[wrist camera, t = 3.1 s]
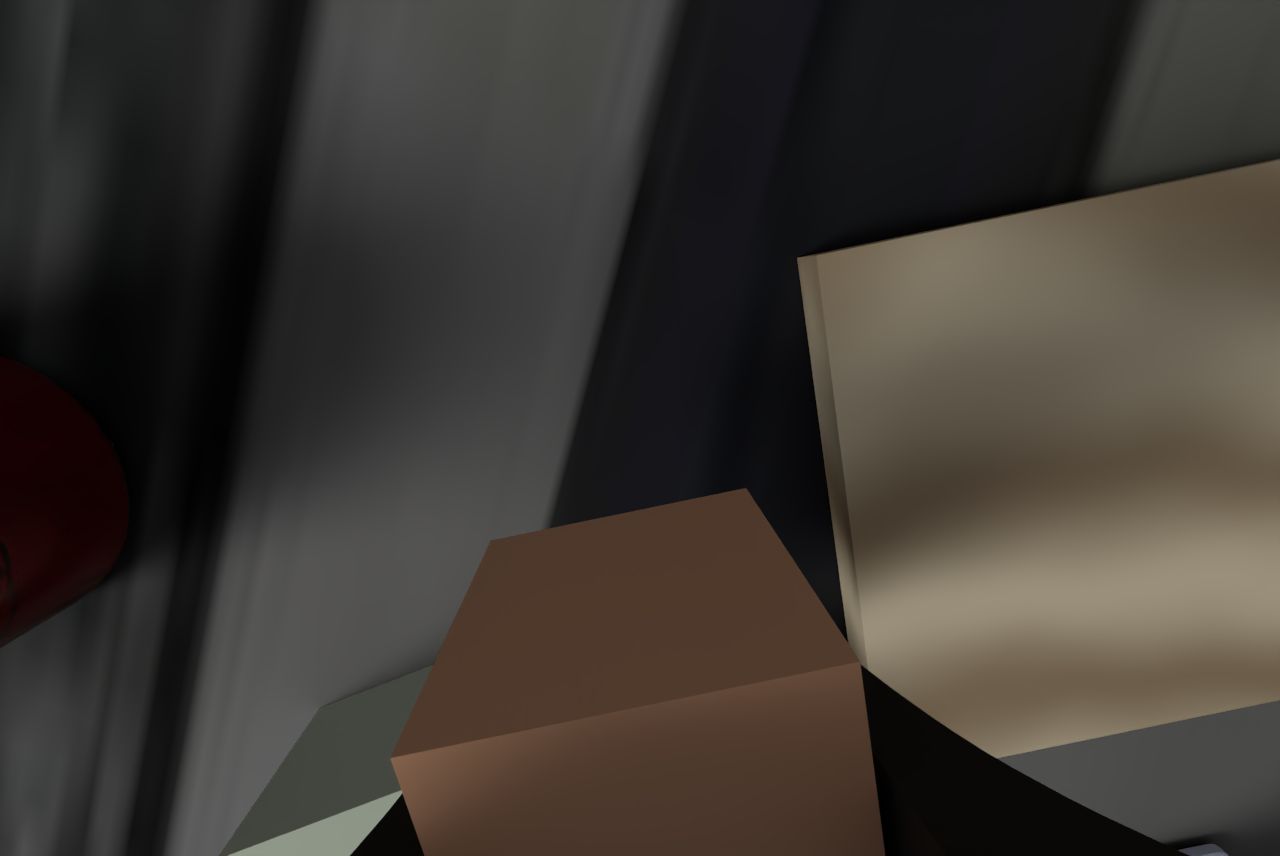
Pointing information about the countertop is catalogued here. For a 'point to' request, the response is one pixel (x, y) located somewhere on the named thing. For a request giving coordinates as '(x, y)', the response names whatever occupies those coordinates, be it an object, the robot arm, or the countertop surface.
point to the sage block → (333, 777)
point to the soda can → (53, 500)
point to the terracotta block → (643, 699)
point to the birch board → (1060, 458)
